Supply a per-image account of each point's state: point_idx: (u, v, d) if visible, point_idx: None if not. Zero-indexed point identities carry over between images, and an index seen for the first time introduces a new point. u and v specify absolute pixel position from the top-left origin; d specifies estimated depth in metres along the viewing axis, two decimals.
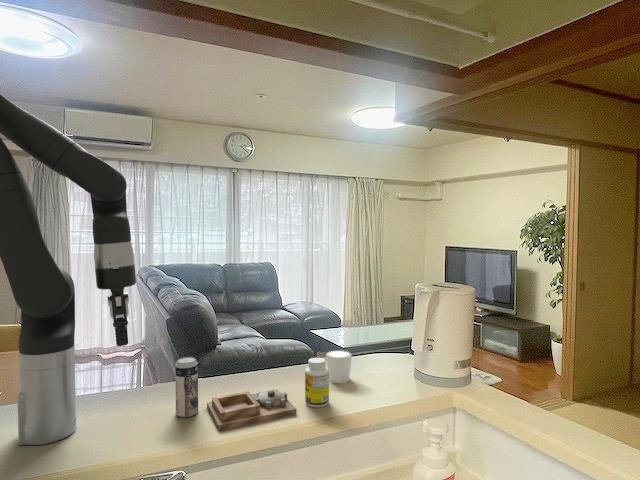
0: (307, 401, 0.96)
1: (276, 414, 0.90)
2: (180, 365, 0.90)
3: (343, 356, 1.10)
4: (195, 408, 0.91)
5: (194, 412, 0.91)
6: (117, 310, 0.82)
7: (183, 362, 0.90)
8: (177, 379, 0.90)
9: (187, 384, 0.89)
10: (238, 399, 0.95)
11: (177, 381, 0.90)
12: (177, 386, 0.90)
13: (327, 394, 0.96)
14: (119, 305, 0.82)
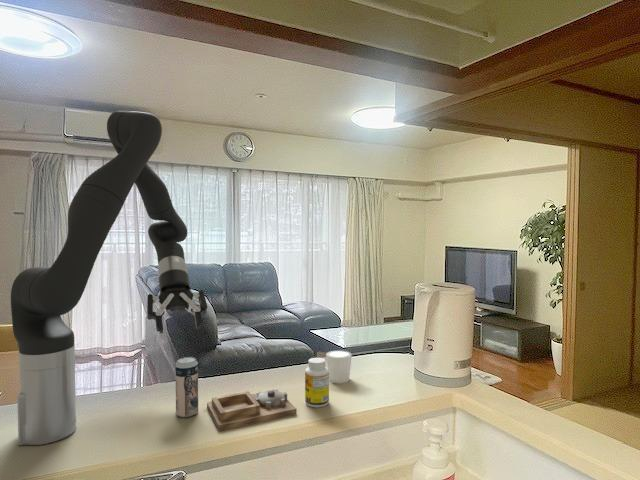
0: (307, 401, 0.96)
1: (276, 414, 0.90)
2: (180, 365, 0.90)
3: (343, 356, 1.10)
4: (195, 408, 0.91)
5: (194, 412, 0.91)
6: None
7: (183, 362, 0.90)
8: (177, 379, 0.90)
9: (187, 384, 0.89)
10: (238, 399, 0.95)
11: (177, 381, 0.90)
12: (177, 386, 0.90)
13: (327, 394, 0.96)
14: None
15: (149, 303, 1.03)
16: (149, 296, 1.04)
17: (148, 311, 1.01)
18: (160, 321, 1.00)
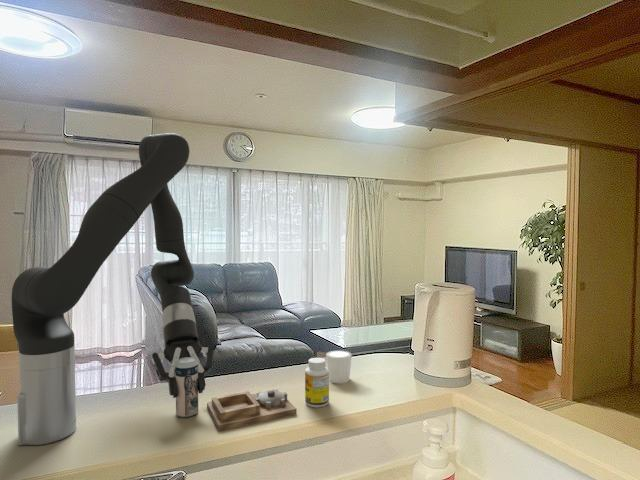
0: (307, 401, 0.96)
1: (276, 414, 0.90)
2: (180, 365, 0.90)
3: (343, 356, 1.10)
4: (195, 408, 0.91)
5: (194, 412, 0.91)
6: None
7: (183, 362, 0.90)
8: (177, 379, 0.90)
9: (187, 384, 0.89)
10: (238, 399, 0.95)
11: (177, 381, 0.90)
12: (177, 386, 0.90)
13: (327, 394, 0.96)
14: None
15: (157, 363, 0.91)
16: (154, 355, 0.92)
17: (160, 373, 0.90)
18: (174, 384, 0.89)
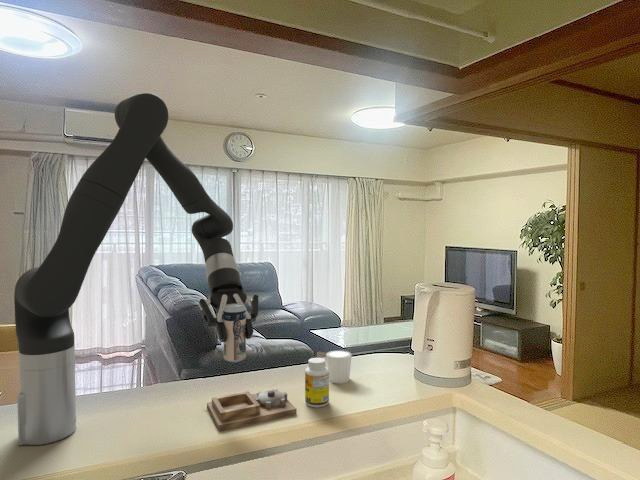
0: (307, 401, 0.96)
1: (276, 414, 0.90)
2: (229, 309, 0.89)
3: (343, 356, 1.10)
4: (243, 354, 0.90)
5: (242, 357, 0.90)
6: None
7: (232, 307, 0.90)
8: (226, 323, 0.89)
9: (236, 328, 0.89)
10: (238, 399, 0.95)
11: (226, 325, 0.89)
12: (226, 331, 0.89)
13: (327, 394, 0.96)
14: None
15: (205, 309, 0.91)
16: (202, 301, 0.92)
17: (209, 317, 0.89)
18: (223, 328, 0.89)
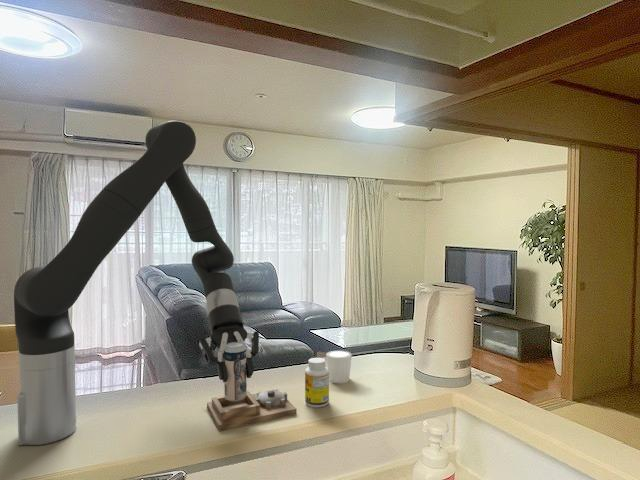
0: (307, 401, 0.96)
1: (276, 414, 0.90)
2: (229, 349, 0.89)
3: (343, 356, 1.10)
4: (244, 393, 0.91)
5: (243, 396, 0.91)
6: None
7: (232, 346, 0.90)
8: (226, 363, 0.90)
9: (236, 368, 0.89)
10: None
11: (226, 365, 0.90)
12: (226, 370, 0.90)
13: (327, 394, 0.96)
14: None
15: (206, 348, 0.91)
16: (202, 340, 0.92)
17: (209, 357, 0.90)
18: (223, 368, 0.89)
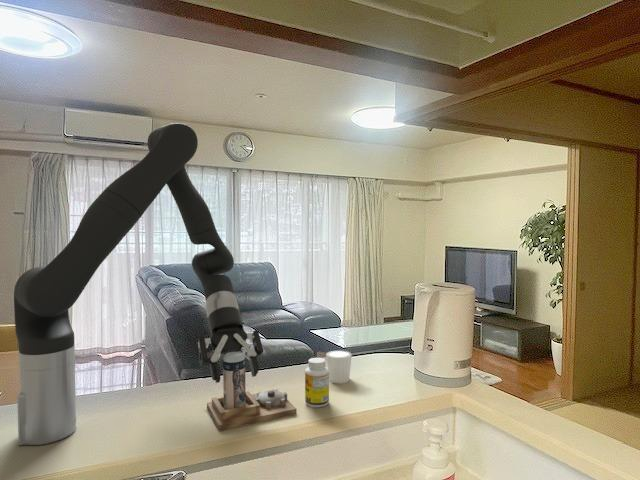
0: (307, 401, 0.96)
1: (276, 414, 0.90)
2: (228, 359, 0.89)
3: (343, 356, 1.10)
4: (243, 403, 0.91)
5: (242, 406, 0.91)
6: None
7: (231, 356, 0.90)
8: (225, 373, 0.90)
9: (235, 378, 0.89)
10: None
11: (225, 375, 0.90)
12: (225, 380, 0.90)
13: (327, 394, 0.96)
14: None
15: (202, 347, 0.91)
16: (201, 339, 0.92)
17: (202, 357, 0.90)
18: (216, 369, 0.89)
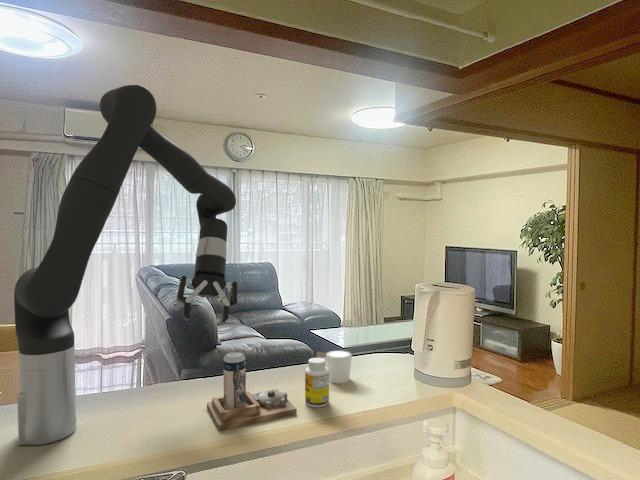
0: (307, 401, 0.96)
1: (276, 414, 0.90)
2: (229, 359, 0.89)
3: (343, 356, 1.10)
4: (243, 403, 0.91)
5: None
6: None
7: (232, 357, 0.90)
8: (226, 373, 0.90)
9: (236, 378, 0.89)
10: None
11: (226, 376, 0.90)
12: (226, 381, 0.90)
13: (327, 394, 0.96)
14: None
15: (181, 286, 1.00)
16: (183, 278, 1.01)
17: (179, 295, 0.99)
18: (188, 309, 0.99)
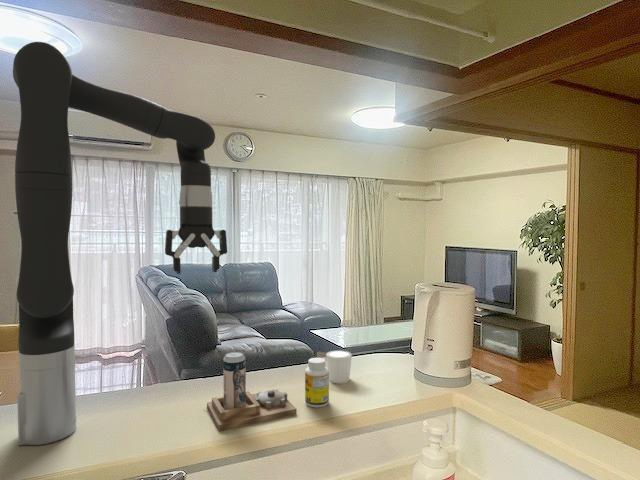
0: (307, 401, 0.96)
1: (276, 414, 0.90)
2: (229, 359, 0.89)
3: (343, 356, 1.10)
4: (243, 403, 0.91)
5: None
6: None
7: (231, 357, 0.90)
8: (226, 374, 0.90)
9: (236, 378, 0.89)
10: None
11: (226, 376, 0.90)
12: (226, 381, 0.90)
13: (327, 394, 0.96)
14: None
15: (168, 241, 0.96)
16: (169, 233, 0.96)
17: (167, 251, 0.96)
18: (178, 264, 0.98)
